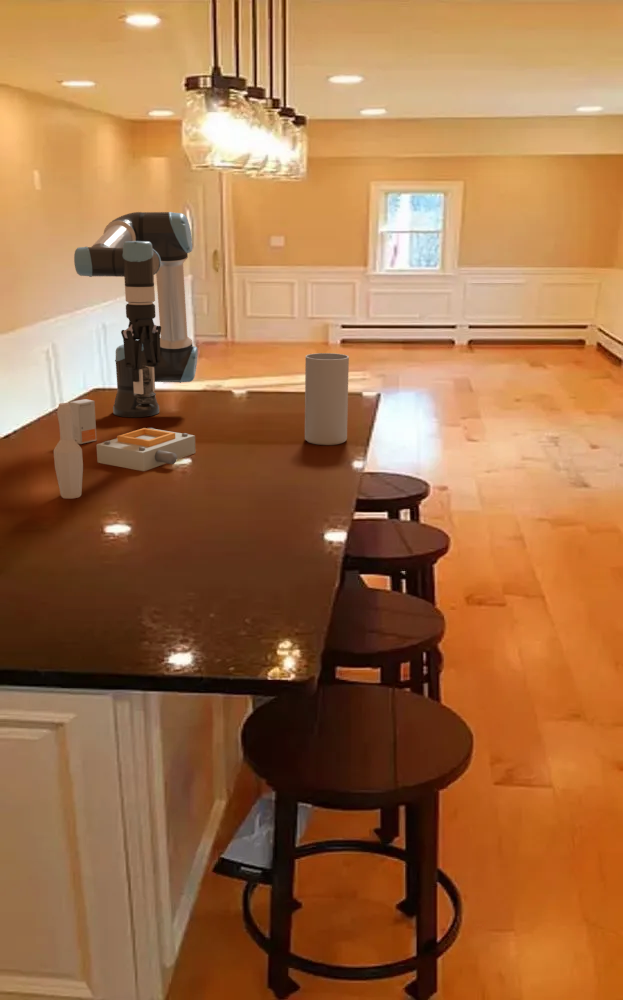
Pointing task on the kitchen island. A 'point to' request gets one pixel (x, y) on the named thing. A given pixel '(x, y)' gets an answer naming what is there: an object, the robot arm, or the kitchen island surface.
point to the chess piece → (145, 392)
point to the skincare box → (83, 421)
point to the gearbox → (145, 449)
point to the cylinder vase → (326, 398)
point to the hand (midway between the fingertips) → (144, 392)
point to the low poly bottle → (68, 456)
